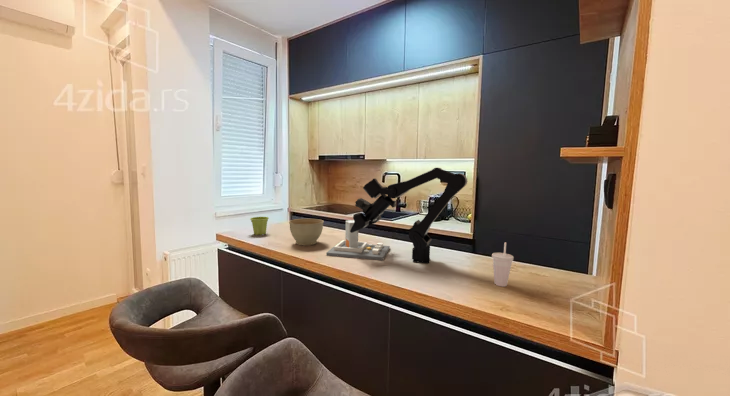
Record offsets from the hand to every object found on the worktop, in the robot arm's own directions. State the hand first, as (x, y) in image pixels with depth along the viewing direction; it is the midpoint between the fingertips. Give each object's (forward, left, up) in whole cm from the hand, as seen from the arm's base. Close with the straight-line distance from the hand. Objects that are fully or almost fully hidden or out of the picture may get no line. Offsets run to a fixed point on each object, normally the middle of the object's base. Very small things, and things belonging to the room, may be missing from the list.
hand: (355, 229), depth 131 cm
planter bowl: (+26, -6, -10) cm, 28 cm away
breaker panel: (-2, +1, -9) cm, 10 cm away
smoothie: (-55, +24, -10) cm, 61 cm away
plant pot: (+58, -17, -10) cm, 61 cm away
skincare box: (+2, 0, -8) cm, 9 cm away
